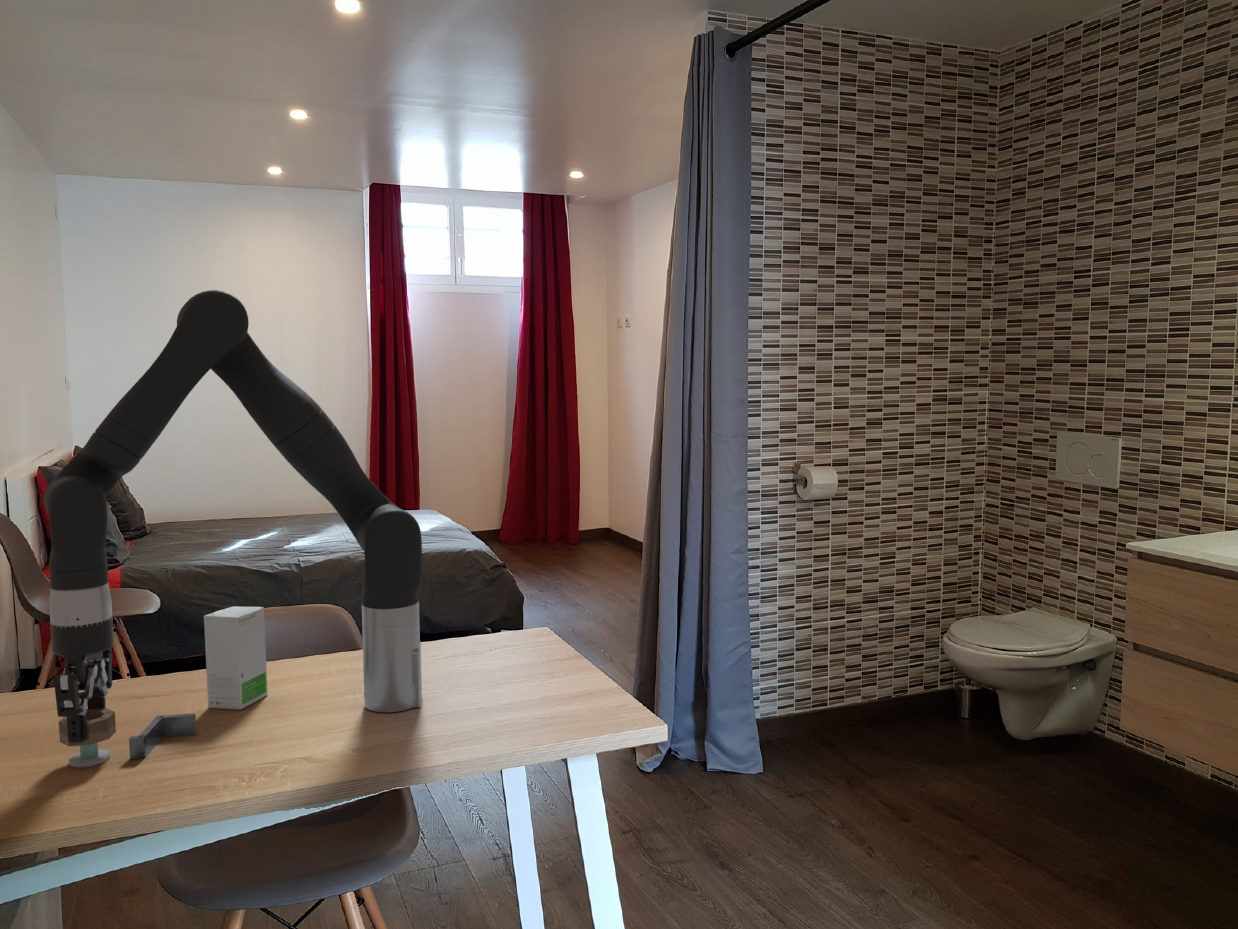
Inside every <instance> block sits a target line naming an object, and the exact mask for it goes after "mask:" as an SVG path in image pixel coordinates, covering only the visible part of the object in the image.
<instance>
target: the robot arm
mask: <svg viewBox="0 0 1238 929" xmlns="http://www.w3.org/2000/svg"><path fill="white" fill-rule="evenodd" d="M246 309H247V308H246V307H245V306H244V304H243V303H242V301H241V300H240V299H239V298H237V297H236V296H235V295H234V294H231V293H229V292H226V291H223V290H218V289H209V290H204V291H201V292H198V293H196V294H194V295H193V296H191V297H190V298H189V299H188V300H187V301H186V302H185V303H184V304H183V306H182V307H181V308H180V309H179V312H178V315H177V318H176V327H175V329H174V331H173V332H172V335H171V336H170V338H169V339H168V342H167V344H166V345H165V346H164V348H163V349H162V350H161V352H160V353H159V354H158V356H157V357H156V359H155V360H153V361H154V362H153V363H152V364H151V366H149V368H148V369H147V370H146V371H145V372H144V374H142V375H141V376H140V378H139V379H138V380H137V381H136V382H135V383H134V384H133V385H132V387H131V388H130V389H129V390H127V392H126V393H125V394H124V395H123V396H122V397H121V399H120V400H119V401H118V402H117V403H116V404H115V405H114V407H113V408H112V409H111V410H110V411H109V412H108V414H107V415H106V417H105V418H104V419H103V420H102V422H101V423H100V424H99V425H98V426H97V427H96V429H95V430H94V432H93V433H92V434H91V435H90V437H89V438H88V440H87V442H86V443H85V445H84V446H83V447H82V448H81V449H80V450H79V451H78V453H76V454H75V456H74V457H72V458H71V460H70V461H69V462H68V463H67V464H65V466H64V467H63V468H62V469H61V470H60V471H59V472H58V474H56V476H55V477H54V478H53V479H52V481H51V482H50V483H49V484H48V486H47V488H46V490H45V492H44V496H43V505H44V507H45V511H46V512H47V513H48V520H49V530H50V531H49V532H50V542H51V550H50V553H49V560H48V564H49V565H48V566H49V567H48V570H49V582H50V586H49V587H50V595H49V622H50V623H49V624H50V638H51V639H50V640H51V652H52V653H53V654H54V655H56V656H59V657H60V656H61V657H63V658H64V659H65V661H64V662H65V663H64V664H65V666H64V669H63V673H62V674H55V675H54V678H53V684H54V686H53V687H54V694H55V701H56V702H55V703H56V710H57V717H58V718H63V717H67V729H68V741H69V742H70V743H78V742H84V741H85V740H86V739H87V720H86V709H100V708H107V707H106V706H107V704H106V698H107V696H108V694H109V689H112V686H113V662H112V661H113V657H112V656H113V650H112V647H113V645H114V640H115V639H114V625H113V623H114V622H113V604H112V603H113V602H112V595H111V590H110V584H109V575H108V574H109V572H108V556H107V551H106V550H107V549H106V543H107V534H108V533H107V531H108V530H107V529H108V504H107V503H108V502H107V496H108V495H109V494H110V493H111V491H113V489H114V488H115V486H116V485H117V484H118V483H119V481H120V480H121V479H122V478H123V477H124V476H125V475H127V474H128V473H130V472H132V470H133V469H135V468H136V466H137V465H138V464H139V463H140V462H141V460H142V459H143V458H144V456H146V454H147V452H149V451H150V448H152V446H153V445H154V443H155V442H156V441H157V439H158V438H159V437H160V435H162V432H163V431H164V430H165V428H166V427H167V426H168V424H169V423H170V421H171V420H172V418H173V417H174V416H175V414H176V413H177V411H178V410H179V408H180V407H181V405H182V404H183V402H184V401H185V400H186V399H187V397H188V395H190V393H191V392H192V391H193V390H194V388H195V387H196V385H197V384H198V383H199V382H200V380H202V379H203V377H205V375H206V374H207V373H208V372H209V371H210V370H211V371H213V373H214V374H215V375H216V376H218V377H219V378H220V379H221V381H222V382H224V383H225V385H226V386H227V387H228V388H229V389H230V391H232V392H233V394H234V395H235V397H236V398H237V399H238V401H239V402H240V403H241V404H242V406H243V407H244V409H245V410H246V411H247V413H248V414H249V416H250V417H251V418H252V419H253V421H254V422H255V424H256V425H257V426H258V427H259V429H260V430H261V431H262V432H263V434H264V435H265V436H266V438H267V439H268V441H270V443H271V444H272V445H273V446H274V447H275V449H276V450H277V451H278V452H279V453H280V454H281V456H282V457H283V458H284V459H285V460H286V461H287V463H288V464H289V465H290V466H291V467H292V468H293V469H294V470H295V471H296V472H297V473H298V474H299V475H300V476H301V477H302V478H303V479H304V480H305V481H306V482H307V483H308V484H309V485H310V486H311V487H313V489H315V490H316V491H317V492H318V493H319V494H321V496H322V497H324V499H326V500H327V502H329V504H330V505H331V506H332V507H333V508H334V509H335V511H336V512H337V514H338V515H339V516H340V518H341V519H342V521H343V522H344V523H345V525H346V527H347V528H348V529H349V531H350V532H351V534H352V536H353V537H354V538H355V540H356V542H357V544H358V546H360V548H361V549H362V551H363V552H364V581H363V582H364V584H363V586H362V588H361V591H360V592H361V593H360V594H361V623H362V626H361V628H362V660H363V665H362V666H363V685H364V686H363V697H364V707H365V709H367V710H369V711H371V712H372V711H373V712H375V713H376V712H377V713H396V712H403V711H407V710H410V709H414V708H415V709H417V708H421V705H422V697H423V681H422V651H421V650H422V643H421V640H420V637H421V634H420V633H421V632H420V589H421V586H422V579H423V546H422V545H423V542H422V541H423V540H422V538H423V537H422V530H421V528H420V525H419V522H418V521H417V519H416V518H415V517H414V516H413V515H412V514H411V513H409V512H408V511H406V510H405V509H402V508H400V507H398V505H396V504H394V503H393V502H392V501H391V500H390V499H389V498H388V497H387V496H386V495H385V494H384V493H383V492H382V491H381V490H380V489H379V488H378V487H377V486H376V485H375V484H374V483H373V482H372V481H371V480H370V478H369V477H368V476H367V474H366V473H365V471H364V470H363V468H362V467H361V465H360V464H359V462H358V460H357V457H356V456H355V454H354V452H353V451H352V449H351V447H350V445H349V443H348V442H347V440H346V439H345V437H344V436H343V434H342V433H341V431H340V430H339V428H337V426H336V425H335V423H334V422H333V420H331V418H330V417H329V415H327V414H326V412H325V411H324V410H323V409H322V408H321V406H320V405H319V404H318V403H317V402H316V401H315V400H314V399H313V398H312V397H311V396H310V395H309V394H308V393H307V392H306V391H305V390H304V389H302V388H301V387H300V386H299V385H297V384H296V383H295V382H294V381H293V380H291V379H290V378H289V377H288V376H287V375H285V374H284V373H283V372H281V370H279V369H278V368H277V367H276V366H275V365H274V364H273V363H272V362H271V361H270V360H269V359H268V358H267V357H266V356H265V355H264V353H263V352H262V351H261V349H260V348H259V346H258V344H256V342H255V341H254V340H253V338H252V337H251V335H250V334H249V332H248V331H249V315H248V311H247V310H246Z"/></svg>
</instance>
